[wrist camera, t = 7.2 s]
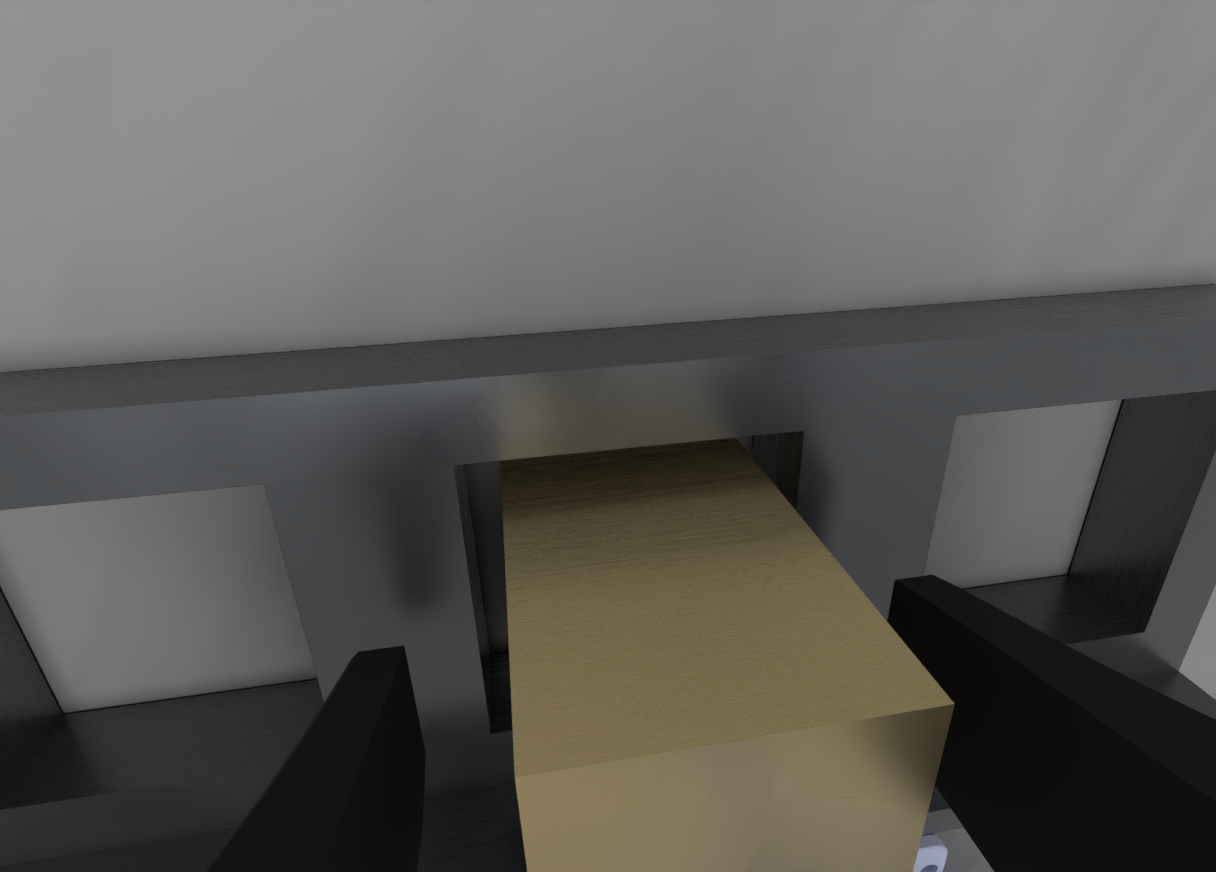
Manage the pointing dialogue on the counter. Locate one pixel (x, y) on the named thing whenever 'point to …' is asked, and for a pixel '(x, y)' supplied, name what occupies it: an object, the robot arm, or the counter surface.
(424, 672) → the charcoal rail
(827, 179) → the counter surface
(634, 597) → the brass peg
